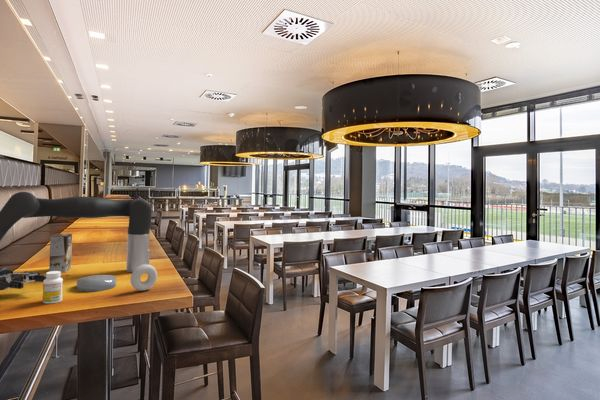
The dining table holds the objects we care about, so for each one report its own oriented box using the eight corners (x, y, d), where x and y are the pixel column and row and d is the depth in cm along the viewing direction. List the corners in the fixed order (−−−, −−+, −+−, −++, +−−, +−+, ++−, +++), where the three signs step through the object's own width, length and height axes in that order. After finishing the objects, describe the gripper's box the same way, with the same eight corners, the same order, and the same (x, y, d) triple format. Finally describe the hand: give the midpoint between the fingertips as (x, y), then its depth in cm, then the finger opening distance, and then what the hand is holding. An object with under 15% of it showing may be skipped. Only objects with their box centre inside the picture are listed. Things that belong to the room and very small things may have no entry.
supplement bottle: (49, 298, 116) (50, 270, 116) (66, 298, 117) (66, 270, 117) (38, 303, 111) (39, 274, 111) (56, 304, 112) (57, 274, 111)
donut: (132, 294, 125) (133, 267, 125) (128, 292, 127) (129, 265, 127) (158, 289, 132) (159, 263, 132) (154, 287, 135) (155, 261, 135)
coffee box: (66, 272, 151) (67, 236, 150) (48, 273, 148) (49, 236, 148) (71, 267, 159) (72, 233, 159) (54, 268, 157) (55, 233, 156)
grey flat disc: (114, 280, 141) (114, 273, 141) (117, 289, 130) (117, 281, 130) (76, 284, 134) (77, 276, 134) (76, 293, 123) (76, 285, 123)
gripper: (-31, 272, 110) (14, 275, 108) (12, 263, 124) (52, 266, 122) (-31, 295, 110) (13, 299, 108) (12, 283, 124) (52, 287, 122)
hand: (34, 281), depth 115 cm, fingers open, 8 cm apart
